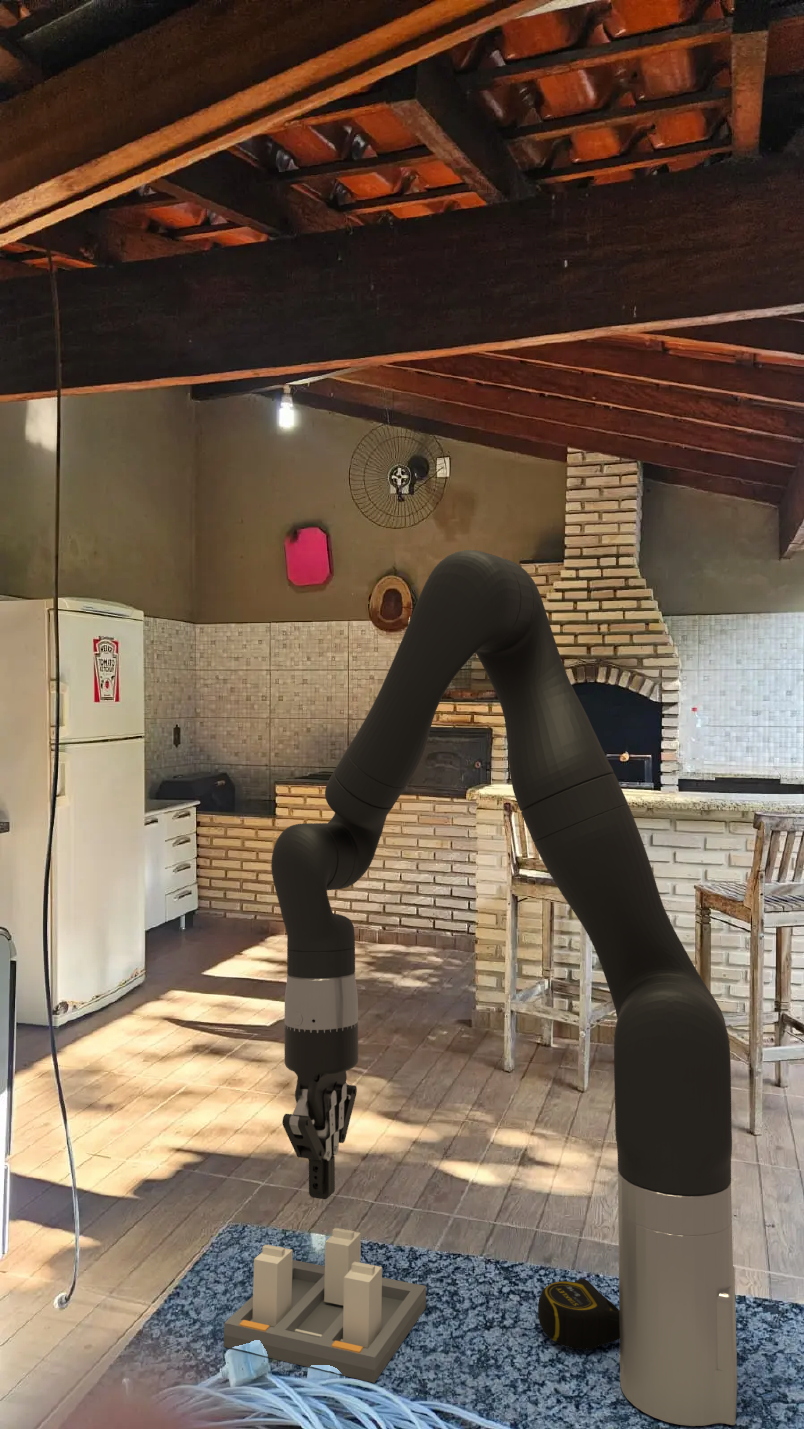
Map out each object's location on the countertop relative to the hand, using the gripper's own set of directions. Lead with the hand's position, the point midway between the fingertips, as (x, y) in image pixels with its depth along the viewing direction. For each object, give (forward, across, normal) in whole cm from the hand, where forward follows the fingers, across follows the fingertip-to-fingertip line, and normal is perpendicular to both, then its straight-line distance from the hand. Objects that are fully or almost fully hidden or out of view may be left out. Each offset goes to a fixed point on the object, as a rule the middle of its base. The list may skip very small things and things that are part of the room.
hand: (322, 1195), depth 96 cm
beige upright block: (+8, -3, -4) cm, 9 cm away
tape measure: (+10, +2, -25) cm, 27 cm away
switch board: (+9, -6, -4) cm, 11 cm away
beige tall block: (+8, -9, -8) cm, 14 cm away
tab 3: (+8, -9, +1) cm, 12 cm away
